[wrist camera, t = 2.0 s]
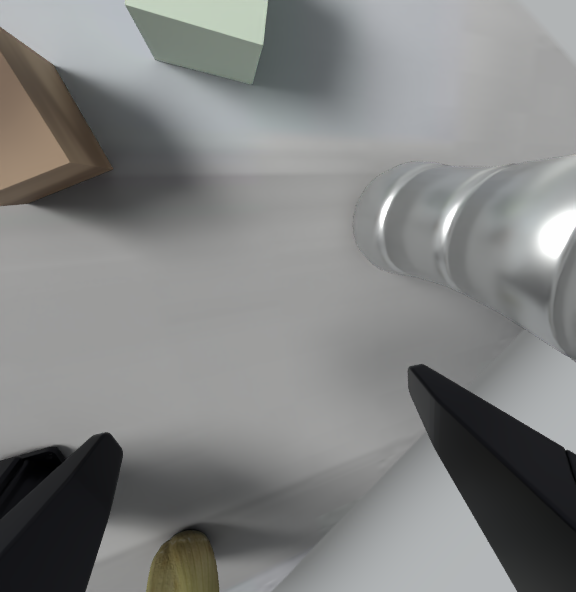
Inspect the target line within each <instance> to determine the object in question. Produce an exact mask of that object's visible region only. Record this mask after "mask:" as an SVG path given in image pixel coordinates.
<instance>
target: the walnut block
mask: <svg viewBox="0 0 576 592" xmlns="http://www.w3.org/2000/svg"><path fill="white" fill-rule="evenodd" d="M110 170H113V168H112V166H111V164H110V163H109V161H108V159H107V157H106V156H105V154H104V152H103V150H102V149H101V147H100V145H99V143H98V142H97V140H96V138H95V136H94V135H93V133H92V131H91V129H90V128H89V126H88V124H87V123H86V121H85V119H84V117H83V116H82V114H81V112H80V110H79V109H78V107H77V105H76V103H75V102H74V100H73V98H72V96H71V95H70V93H69V91H68V89H67V88H66V86H65V84H64V83H63V81H62V79H61V77H60V76H59V74H58V72H57V70H56V69H55V67H54V65H53V64H51V63H50V62H49V61H47V60H46V59H44V58H43V57H42V56H40V55H39V54H37V53H36V52H35V51H33V50H32V49H30V48H29V47H28V46H26V45H25V44H23V43H22V42H21V41H19V40H18V39H16V38H15V37H14V36H12V35H11V34H9V33H8V32H7V31H5V30H4V29H2V28H1V27H0V206H7V205H19V204H28V203H31V202H33V201H36V200H38V199H41V198H43V197H46V196H48V195H51V194H53V193H55V192H58V191H60V190H63V189H65V188H68V187H70V186H73V185H75V184H78V183H80V182H83V181H85V180H88V179H90V178H93V177H95V176H98V175H100V174H103V173H105V172H108V171H110Z"/></svg>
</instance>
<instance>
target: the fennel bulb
mask: <svg viewBox="0 0 576 592" xmlns="http://www.w3.org/2000/svg"><path fill="white" fill-rule="evenodd" d="M146 592H219V581H218V572H217V565H216V560H215V557H214V552H213V549H212V546H211V544H210V541H209V540H208V538H207V536H206V535H205V534H204V533H201V532H200V531H193V530H189V531H183V532H180V533H178V534H176V535H174V536H173V537H172V538H171V539H170V540H168V541H167V542H165V543H164V544H163V545H162V546H161V548H160V549H159V551H158V552H157V554H156V555H155V557H154V559H153V561H152V564H151V567H150V572H149V577H148V583H147V590H146Z"/></svg>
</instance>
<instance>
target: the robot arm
mask: <svg viewBox="0 0 576 592" xmlns="http://www.w3.org/2000/svg"><path fill="white" fill-rule="evenodd" d="M408 388H409V392H410V395H411V398H412V400H413V402H414V404H415V406H416V409H417V411H418V413H419V415H420V418H421V420H422V422H423V424H424V427H425V429H426V431H427V433H428V436H429V438H430V440H431V442H432V444H433V446H434V448H435V450H436V452H437V454H438V455H439V457H440V459H441V461H442V462H443V464H444V466H445V468H446V469H447V471H448V473H449V474H450V476H451V478H452V480H453V481H454V483H455V485H456V486H457V488H458V490H459V492H460V493H461V495H462V497H463V499H464V500H465V502H466V504H467V506H468V507H469V509H470V510H471V512H472V514H473V516H474V518H475V519H476V521H477V523H478V525H479V526H480V528H481V530H482V531H483V533H484V535H485V536H486V538H487V540H488V542H489V544H490V545H491V547H492V549H493V550H494V552H495V554H496V556H497V557H498V559H499V561H500V562H501V564H502V566H503V567H504V569H505V571H506V573H507V575H508V576H509V578H510V580H511V582H512V583H513V585H514V587H515V588H516V590H517V592H576V454H574V453H573V452H571V451H569V450H566V451H565V449H564V447H562V446H561V445H559V444H557V443H555V442H554V441H552V440H550V439H549V438H547V437H545V436H544V435H542V434H540V433H539V432H537V431H535V430H533V429H532V428H530V427H528V426H527V425H525V424H524V423H522V422H520V421H518V420H517V419H515V418H513V417H512V416H510V415H508V414H507V413H505V412H503V411H501V410H500V409H498V408H497V407H495V406H493V405H492V404H490V403H488V402H486V401H485V400H483V399H481V398H480V397H478V396H476V395H475V394H473V393H471V392H469V391H468V390H466V389H465V388H463V387H461V386H460V385H458V384H456V383H454V382H453V381H451V380H449V379H448V378H446V377H444V376H443V375H441V374H439V373H438V372H436V371H434V370H433V369H431V368H429V367H428V366H426V365H424V364H419V365H414V366H410V367H409V368H408ZM50 454H51V455H50ZM122 458H123V450H122V448H121V447H120V445H119V444H118V443H117V441H116V440H115V439H114V437H113V436H112V435H111V434H110V433H108V432H105V433H100V434H96V435H93V436H92V437H90V438H89V439H88V440H87V441H86V442H85V443H84V444H83V445H82V446H81V447H80V448H78V449H77V450H76V451H75V452H74V453H73V454H72V455H71V456H70V457H69V458H67V459H65V458H64V457H63V455H62V454H61V452H60V451H59V450H58V449H57V448H55V447H47V448H44V449H40V450H37V451H34V452H30V453H27V454H23V455H20V456H16V457H12V458H9V459H5V460H2V461H0V592H85V591H86V588H87V585H88V582H89V579H90V575H91V572H92V569H93V566H94V563H95V560H96V556H97V553H98V550H99V547H100V544H101V541H102V538H103V534H104V531H105V528H106V525H107V522H108V518H109V515H110V511H111V507H112V503H113V499H114V494H115V490H116V485H117V481H118V476H119V472H120V467H121V463H122Z"/></svg>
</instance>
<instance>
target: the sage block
mask: <svg viewBox="0 0 576 592" xmlns="http://www.w3.org/2000/svg"><path fill="white" fill-rule="evenodd" d="M267 5H268V0H125V6H126V7H127V9H128V11H129V13H130V15H131V16H132V18H133V20H134V22H135V24H136V26H137V27H138V29H139V31H140V33H141V35H142V37H143V38H144V40H145V42H146V44H147V46H148V48H149V49H150V51H151V53H152V55H153V57H154V58H155V60H158V61H162V62H166V63H170V64H174V65H178V66H181V67H185V68H189V69H193V70H197V71H201V72H205V73H209V74H212V75H216V76H220V77H224V78H228V79H232V80H236V81H239V82H243V83H247V84H251V85H252V84H253V80H254V77H255V73H256V69H257V66H258V62H259V58H260V55H261V51H262V47H263V41H264V32H265V23H266V14H267Z"/></svg>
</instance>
